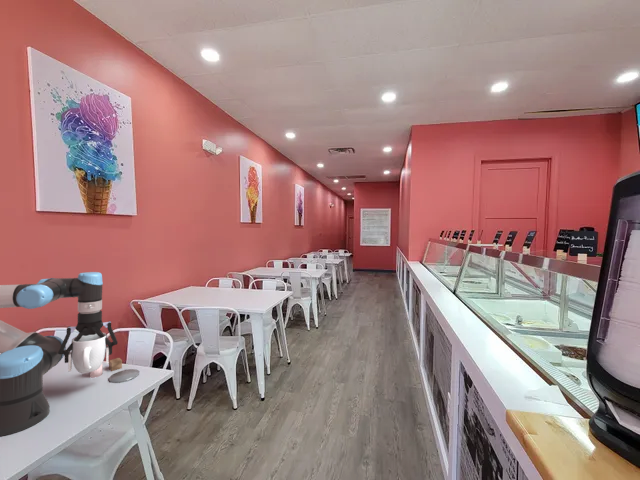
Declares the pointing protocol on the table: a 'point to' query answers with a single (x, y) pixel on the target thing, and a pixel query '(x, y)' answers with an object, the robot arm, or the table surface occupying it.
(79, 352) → the mug
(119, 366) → the walnut cube
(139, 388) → the table surface
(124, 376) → the coaster
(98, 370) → the pink jar
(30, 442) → the table surface
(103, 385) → the table surface
